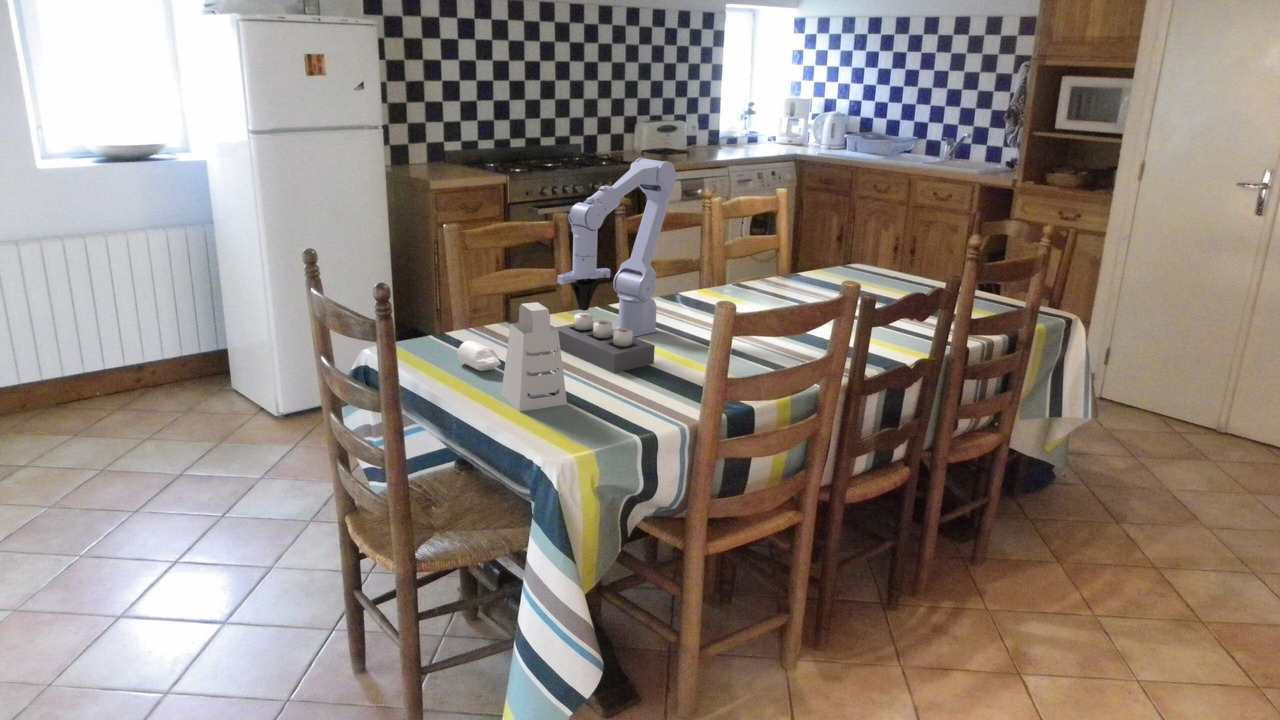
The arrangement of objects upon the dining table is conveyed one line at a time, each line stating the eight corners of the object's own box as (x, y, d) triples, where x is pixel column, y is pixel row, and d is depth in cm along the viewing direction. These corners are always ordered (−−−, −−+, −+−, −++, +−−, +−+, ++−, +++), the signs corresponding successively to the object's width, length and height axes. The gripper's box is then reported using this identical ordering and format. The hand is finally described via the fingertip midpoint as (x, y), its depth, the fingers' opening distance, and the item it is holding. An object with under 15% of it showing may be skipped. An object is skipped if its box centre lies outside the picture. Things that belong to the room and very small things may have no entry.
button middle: (603, 331, 226) (604, 319, 225) (615, 336, 223) (615, 323, 222) (589, 334, 223) (589, 322, 222) (600, 339, 220) (601, 326, 219)
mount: (590, 337, 237) (591, 320, 236) (653, 363, 220) (654, 345, 219) (551, 345, 230) (552, 327, 228) (614, 373, 212) (614, 354, 211)
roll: (485, 380, 205) (485, 356, 203) (456, 365, 213) (456, 341, 212) (508, 375, 209) (508, 351, 207) (479, 360, 217) (479, 337, 215)
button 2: (623, 339, 221) (624, 327, 220) (635, 344, 218) (636, 331, 217) (609, 342, 218) (609, 330, 217) (621, 347, 215) (621, 335, 214)
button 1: (584, 323, 231) (585, 312, 231) (595, 328, 228) (596, 316, 227) (570, 326, 229) (570, 314, 228) (581, 331, 226) (581, 319, 225)
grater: (547, 387, 202) (548, 297, 196) (567, 404, 193) (568, 310, 187) (501, 394, 197) (500, 302, 191) (519, 411, 189) (519, 315, 182)
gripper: (570, 260, 215) (569, 317, 220) (619, 254, 224) (617, 308, 229) (552, 255, 220) (551, 310, 225) (600, 248, 229) (599, 302, 234)
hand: (583, 309), depth 227 cm, fingers closed
